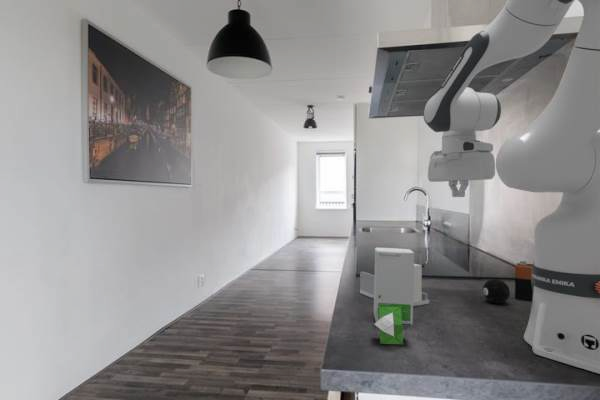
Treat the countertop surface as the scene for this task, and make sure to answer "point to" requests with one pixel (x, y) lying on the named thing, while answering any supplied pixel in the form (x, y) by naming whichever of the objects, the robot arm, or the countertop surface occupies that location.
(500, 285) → the billiard ball
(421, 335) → the countertop surface
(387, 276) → the skincare box
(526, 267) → the battery
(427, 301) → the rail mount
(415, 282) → the block
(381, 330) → the geometric puzzle
